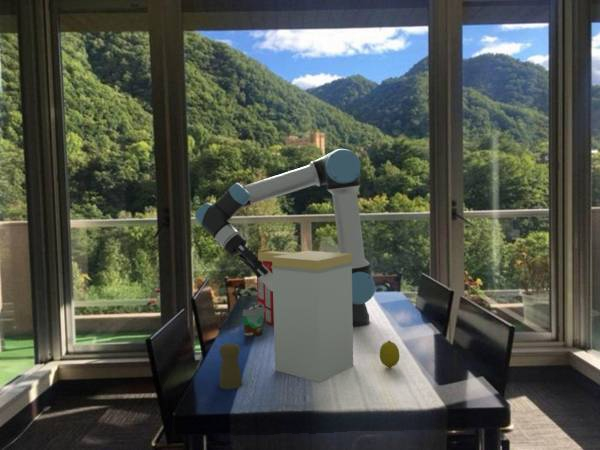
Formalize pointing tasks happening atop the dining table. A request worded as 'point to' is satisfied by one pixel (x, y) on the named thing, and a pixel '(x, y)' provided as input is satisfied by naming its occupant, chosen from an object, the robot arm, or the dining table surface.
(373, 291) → the robot arm
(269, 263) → the food packaging
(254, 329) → the food container
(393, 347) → the lemon
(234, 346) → the cork
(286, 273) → the tall white upright box
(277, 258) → the paddle
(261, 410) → the dining table surface
